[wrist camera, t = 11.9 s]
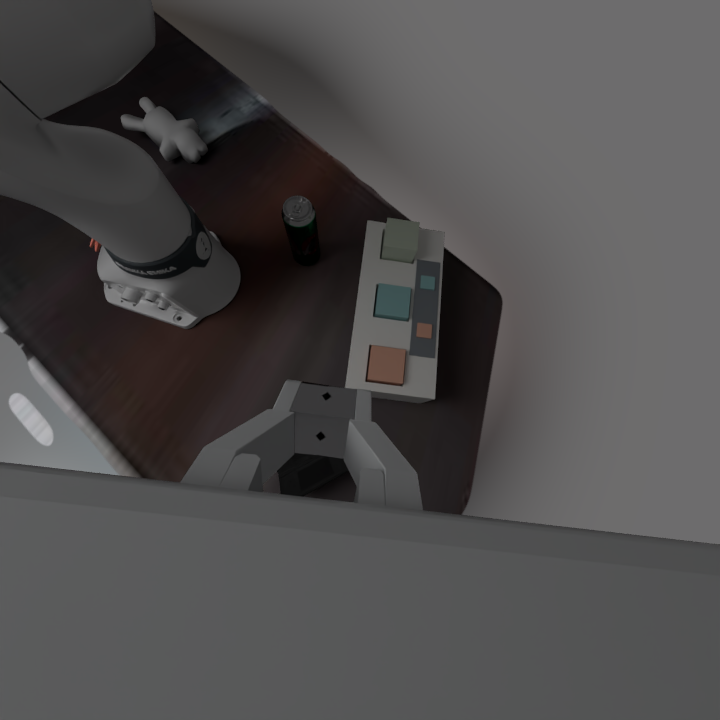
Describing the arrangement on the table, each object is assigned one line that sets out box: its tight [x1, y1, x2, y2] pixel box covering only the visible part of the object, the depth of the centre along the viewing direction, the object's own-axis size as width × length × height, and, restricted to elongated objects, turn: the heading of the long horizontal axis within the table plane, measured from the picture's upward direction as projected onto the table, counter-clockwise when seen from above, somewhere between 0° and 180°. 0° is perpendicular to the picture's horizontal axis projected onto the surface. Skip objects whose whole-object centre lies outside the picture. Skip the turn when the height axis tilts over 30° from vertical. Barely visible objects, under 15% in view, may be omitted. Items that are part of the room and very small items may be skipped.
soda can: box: [282, 196, 320, 266], centre depth 47 cm, size 5×5×12 cm
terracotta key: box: [365, 345, 406, 386], centre depth 42 cm, size 5×5×4 cm
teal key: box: [373, 283, 411, 321], centre depth 44 cm, size 5×5×4 cm
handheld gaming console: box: [277, 453, 349, 497], centre depth 43 cm, size 12×7×10 cm
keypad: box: [345, 220, 445, 403], centre depth 47 cm, size 13×28×8 cm, turn 173°
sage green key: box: [381, 218, 419, 264], centre depth 45 cm, size 5×5×4 cm
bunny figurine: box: [121, 97, 208, 163], centre depth 54 cm, size 10×5×15 cm
